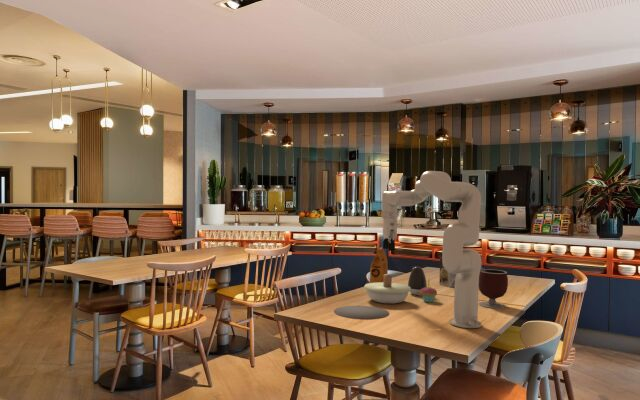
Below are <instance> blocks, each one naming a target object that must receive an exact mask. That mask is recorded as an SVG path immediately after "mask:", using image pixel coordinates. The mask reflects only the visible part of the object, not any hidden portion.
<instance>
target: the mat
mask: <svg viewBox="0 0 640 400" xmlns="http://www.w3.org/2000/svg"><path fill="white" fill-rule="evenodd" d="M333 313H334V314H335V315H336V316H339V317H341V318H346V319H353V320H362V321H363V320H369V321H370V320H379V319H385V318H388V317H389V316H390V312H389V311H388V310H386V309H384V308H382V307H376V306H370V305H343V306H339V307H337V308H335V309H334V310H333Z"/></svg>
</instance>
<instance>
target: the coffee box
mask: <svg viewBox="0 0 640 400" xmlns="http://www.w3.org/2000/svg"><path fill="white" fill-rule="evenodd" d="M456 275H457V273H449V272H448V271H446V270H445V268H444V266H443V262H442V258H441V257H440V258H439V283H438V284H439V285H442V286H445V287H447V288H455V278H456Z"/></svg>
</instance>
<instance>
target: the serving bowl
mask: <svg viewBox="0 0 640 400" xmlns="http://www.w3.org/2000/svg"><path fill="white" fill-rule="evenodd" d="M366 294H367V295H368V297H369V299H371V300H372V301H374V302H376V303H381V304H388V305H389V304H393V305H394V304H398V303H402V302H403V301H405V300H406V299H407V297H408V294H409V292H406V293H396V294H391V293H378V292H372V291H369V290H366Z"/></svg>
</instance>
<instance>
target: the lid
mask: <svg viewBox="0 0 640 400" xmlns="http://www.w3.org/2000/svg"><path fill="white" fill-rule="evenodd" d="M392 276H393V275H392V274H384V282H378V283H370V282H369V283H366V284H365V285H364V286H363V287H364V289H365V290H366V291H367V290H369V291H372V292H378V293H391V294H396V293H406V292H408V293H410V291H411V288H410V287H409V286H408V284H407V285H406V284H403V283H396V282H393V281H392V279H393V278H392Z"/></svg>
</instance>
